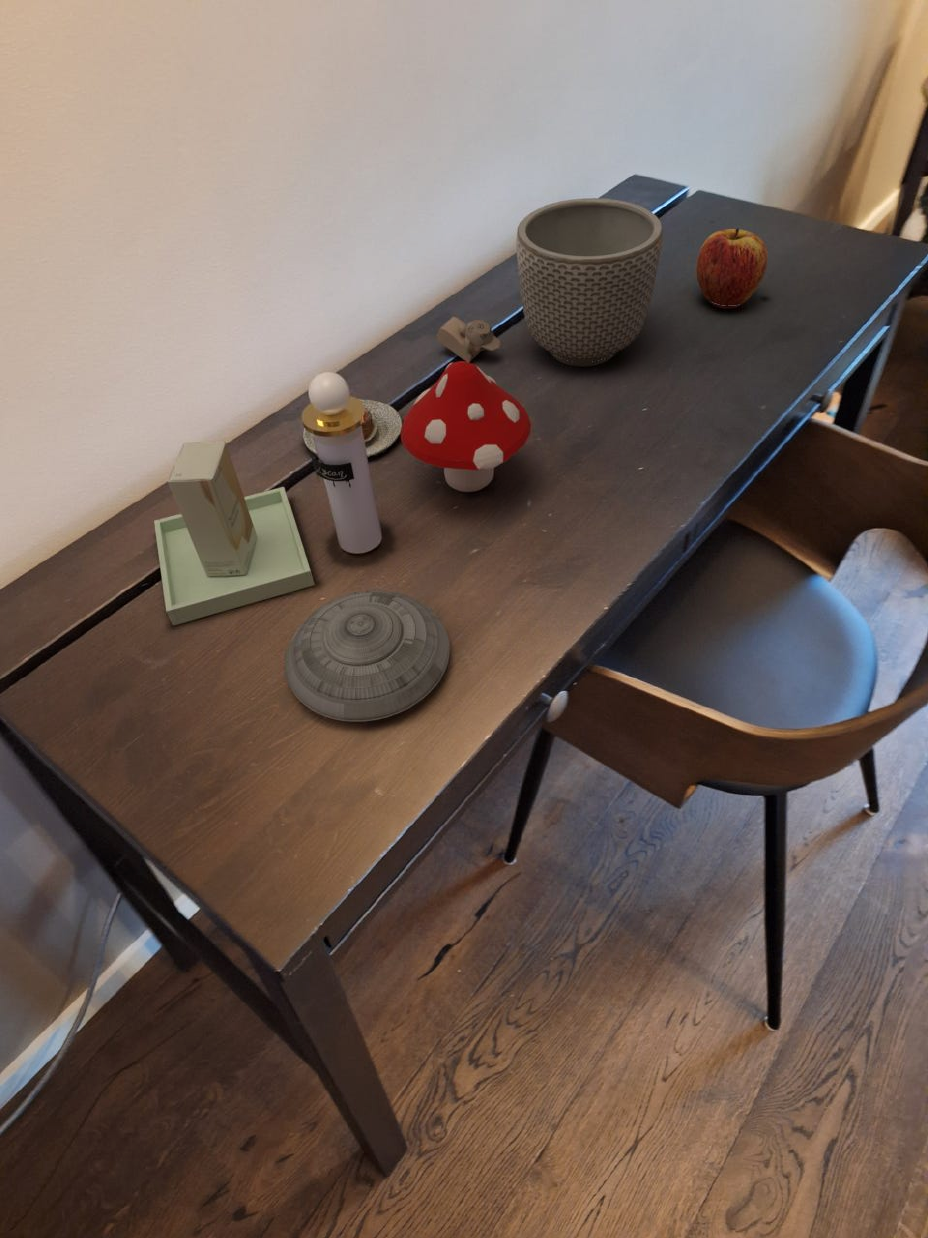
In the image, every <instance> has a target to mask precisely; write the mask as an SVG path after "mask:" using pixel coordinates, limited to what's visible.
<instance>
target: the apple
mask: <svg viewBox="0 0 928 1238" xmlns="http://www.w3.org/2000/svg"><path fill="white" fill-rule="evenodd" d="M696 259H697V260H696V270H695V271H696V279H697V283H698V287H699V289H700V292H701V293H702V295H703V296H704V298H705V299H706V300H707V299H708V300H709V301H708V300H707V301H708V302H709V303H710V304H711V305H713V306H715V307H716V308H721V309H723V310H731V309H735V308H738V307H740V306H742V305H743V304H744V303H746V302H747V301H748V300H749V299H751V297H752V296H753V295H754V293H755V291H756V290H757V289H758V287H759V286H760V284H761V282H762V280H763V278H764V276H765V274H766V270H767V267H768V249H767V246H766V244H765V243H764V241H763V240H762V239H761V238H760V237H759V236H758V235H757V234H755V233H753V232H752V231H748V230H746V229H740V228H726V229H720V230H717V231H715V232H713V233H712V234H710V235H708V237H707V238H706V239H705V240H704V242H703V243H702V245H701V247H700V249H699V251H698V256H697V258H696ZM746 300H747V301H746ZM710 301H711V302H714V303H717V304H720V305H717V304H714V303H711V302H710ZM745 301H746V302H745ZM743 302H744V303H743ZM741 303H743V304H741ZM738 304H741V305H738ZM721 305H726V306H721ZM728 305H737V306H728Z"/></svg>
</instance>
